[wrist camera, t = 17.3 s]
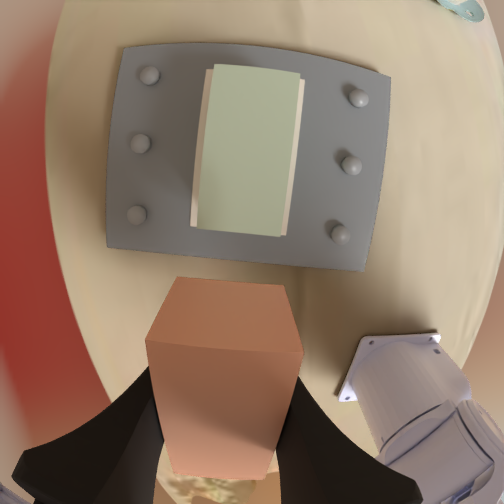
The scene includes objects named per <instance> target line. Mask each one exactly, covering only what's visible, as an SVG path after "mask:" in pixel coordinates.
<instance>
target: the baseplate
mask: <svg viewBox="0 0 504 504" xmlns="http://www.w3.org/2000/svg"><path fill="white" fill-rule="evenodd" d="M214 64H225V65H239V66H250V67H259V68H268V69H275V70H282V71H288V72H294V73H300V83H299V93H298V102H297V111H296V120H295V129H294V137H293V146H292V154H291V162H290V170H289V178H288V186H287V193H286V201H285V208H284V215H283V222H282V229H281V236H280V237H276V236H267V235H257V234H247V233H237V232H227V231H216V230H206V229H196V228H197V213H198V200H199V187H200V176H201V165H202V155H203V146H204V137H205V128H206V120H207V112H208V104H209V97H210V90H211V83H212V76H213V70H214ZM390 92H391V77H389V76H386V75H383V74H380V73H377V72H374V71H371V70H368V69H365V68H362V67H359V66H355V65H352V64H348V63H345V62H341V61H337V60H333V59H329V58H325V57H320V56H316V55H311V54H306V53H301V52H296V51H290V50H283V49H277V48H269V47H261V46H252V45H240V44H223V43H174V44H157V45H146V46H136V47H128V48H124V51H123V55H122V59H121V64H120V69H119V74H118V79H117V84H116V90H115V96H114V102H113V109H112V117H111V125H110V134H109V145H108V158H107V176H106V239H107V247H108V248H117V249H126V250H136V251H145V252H155V253H165V254H174V255H184V256H194V257H204V258H215V259H225V260H235V261H246V262H257V263H267V264H278V265H289V266H301V267H312V268H323V269H335V270H347V271H359V272H364V269H365V265H366V261H367V257H368V252H369V248H370V243H371V239H372V234H373V229H374V224H375V219H376V214H377V208H378V203H379V197H380V191H381V184H382V178H383V171H384V163H385V155H386V146H387V136H388V125H389V111H390Z"/></svg>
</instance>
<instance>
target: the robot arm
mask: <svg viewBox="0 0 504 504" xmlns="http://www.w3.org/2000/svg"><path fill="white" fill-rule="evenodd" d="M440 338H441V335H440V334H439V333H426V334H411V335H389V336H365V337H363V338H362V339H361V340H360V343H359V346H358V348H357V351H356V354H355V356H354V359H353V361H352V364H351V366H350V369H349V371H348V374H347V376H346V378H345V381H344V383H343V385H342V388H341V390H340V392H339V395H338V397H337V398H338V401H340V402H343V401H355V400H358V402H359V405H360V407H361V409H362V412H363V414H364V417H365V419H366V422H367V424H368V426H369V429H370V431H371V434H372V436H373V439H374V441H375V444H376V446H377V449H378V452H379V455H378V456H377V457H375V458H373V457H372V456H370V455H369V454H367V453H366V452H365V451H363V450H362V449H361V448H359V447H358V446H357V445H356V444H355V443H353V442H352V441H351V440H350V439H349V438H348V437H347V436H346V435H345V434H343V433H342V432H341V431H340V430H339V429H338V428H337V426H336V425H335V424H334V423H333V422H332V421H331V420H330V419H329V418H328V416H327V415H326V414H325V413H324V412H323V410H322V409H321V408H320V407H319V405H318V404H317V403H316V401H315V400H314V399H313V397H312V396H311V394H310V393H309V392H308V390H307V389H306V387H305V386H304V384H303V383H302V381H301V379H300V378H299V376H298V378H297V381H296V385H295V388H294V392H293V395H292V398H291V402H290V405H289V408H288V412H287V415H286V418H285V421H284V424H283V427H282V430H281V434H280V437H279V440H278V442H277V445H276V448H275V449H276V454H277V460H278V465H279V472H280V486H281V504H503V502H502V501H501V499H500V498H501V496H502V495H503V492H504V434H503V433H502V431H501V430H500V428H499V427H498V425H497V424H496V423H495V421H494V420H493V418H492V417H491V416H490V415H489V413H488V412H487V411H486V410H485V409H484V408H483V407H482V406H481V405H480V404H479V403H478V402H477V401H476V400H474V399H471V387H470V384H469V381H468V379H467V377H466V376H465V374H464V373H463V372H462V370H461V369H460V368H459V367H458V366H457V365H456V363H455V362H454V361H453V360H452V359H451V358H450V356H449V355H448V354H447V353H446V352H445V351H444V349H443V348H442V347H441V346H440V345H439V344H438V342H439V340H440ZM370 341H372V342H371V343H369V342H370ZM163 444H164V437H163V433H162V428H161V424H160V420H159V416H158V411H157V407H156V402H155V397H154V392H153V387H152V381H151V376H150V370H149V366H148V367H147V368H146V369H145V370H144V372H143V373H142V374H141V375H140V376H139V377H138V378H137V379H136V380H135V381H134V383H133V384H132V385H131V386H130V387H129V388H128V389H127V390H126V391H125V392H124V393H123V394H122V395H120V396H119V397H118V398H117V399H116V400H115V401H114V402H113V403H112V404H111V405H110V406H108V407H107V408H106V409H105V410H103V411H102V412H101V413H100V414H98V415H97V416H95V417H94V418H93V419H91V420H90V421H88V422H87V423H85V424H83V425H82V426H81V427H79V428H77V429H75V430H74V431H72V432H70V433H68V434H66V435H64V436H62V437H60V438H58V439H56V440H53V441H51V442H49V443H46V444H43V445H40V446H37V447H34V448H31V449H28V450H25V451H24V452H23V454H22V455H21V457H20V459H19V461H18V463H17V465H16V467H15V469H14V471H13V474H12V478H13V480H14V481H15V482H16V483H17V484H18V485H19V486H20V487H22V488H23V489H24V490H25V491H26V492H28V493H29V494H30V495H31V496H33V497H34V498H35V501H34V503H33V504H153V497H154V488H155V479H156V473H157V467H158V462H159V458H160V454H161V450H162V447H163ZM0 504H31V503H29V502H27V501H26V500H24V499H22V498H21V497H19V496H18V495H16V494H15V493H13V492H12V491H10V490H9V489H7V488H6V487H5V486H3V485H2V484H1V483H0Z"/></svg>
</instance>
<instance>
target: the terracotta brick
mask: <svg viewBox="0 0 504 504" xmlns="http://www.w3.org/2000/svg"><path fill="white" fill-rule="evenodd" d="M145 343H146V350H147V357H148V364H149V370H150V376H151V381H152V387H153V392H154V397H155V402H156V407H157V411H158V416H159V420H160V424H161V428H162V433H163V437H164V440H165V444H166V448H167V452H168V455H169V459H170V462H171V465H172V469H173V472H174V473H176V474H183V475H190V476H198V477H208V478H220V479H239V480H264V479H265V476H266V473H267V471H268V468H269V465H270V462H271V460H272V457H273V454H274V451H275V448H276V445H277V442H278V440H279V437H280V434H281V430H282V427H283V424H284V421H285V418H286V415H287V412H288V408H289V405H290V402H291V398H292V395H293V392H294V388H295V385H296V381H297V378H298V374H299V370H300V367H301V363H302V359H303V355H304V350H303V347H302V343H301V340H300V337H299V333H298V330H297V327H296V323H295V320H294V317H293V314H292V310H291V307H290V304H289V301H288V297H287V294H286V291H285V288H284V285H272V284H258V283H245V282H232V281H220V280H208V279H197V278H187V277H176V279H175V281H174V283H173V285H172V287H171V289H170V291H169V293H168V295H167V297H166V298H165V300H164V302H163V304H162V306H161V308H160V310H159V312H158V314H157V316H156V318H155V320H154V322H153V324H152V326H151V328H150V330H149V332H148V334H147V336H146V338H145Z"/></svg>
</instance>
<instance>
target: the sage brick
mask: <svg viewBox="0 0 504 504" xmlns="http://www.w3.org/2000/svg"><path fill="white" fill-rule="evenodd" d="M299 83H300V73H294V72H288V71H282V70H275V69H268V68H259V67H250V66H239V65H225V64H214V70H213V76H212V83H211V90H210V97H209V104H208V112H207V120H206V128H205V137H204V146H203V155H202V165H201V176H200V187H199V200H198V213H197V228H196V229H206V230H216V231H227V232H237V233H247V234H257V235H267V236H276V237H280V236H281V229H282V222H283V215H284V208H285V201H286V193H287V186H288V178H289V170H290V162H291V154H292V146H293V137H294V129H295V120H296V111H297V102H298V93H299Z"/></svg>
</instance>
